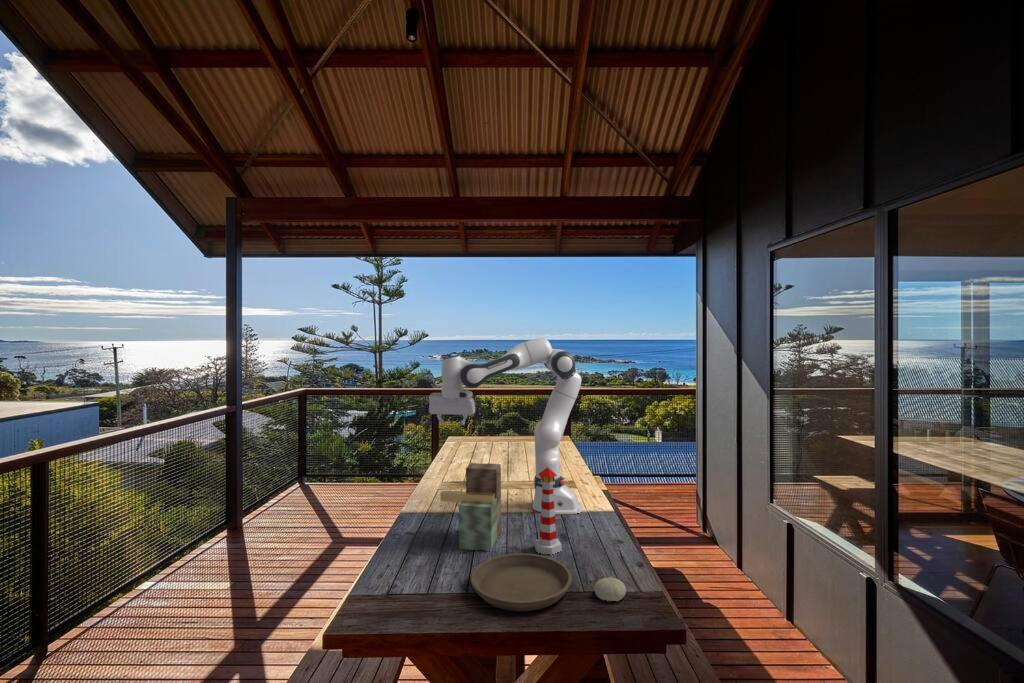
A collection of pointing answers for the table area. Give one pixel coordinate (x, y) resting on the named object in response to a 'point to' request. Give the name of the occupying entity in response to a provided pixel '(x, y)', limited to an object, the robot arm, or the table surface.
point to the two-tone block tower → (481, 508)
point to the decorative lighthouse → (547, 517)
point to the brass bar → (468, 497)
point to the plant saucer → (521, 581)
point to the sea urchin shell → (610, 589)
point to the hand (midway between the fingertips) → (452, 424)
